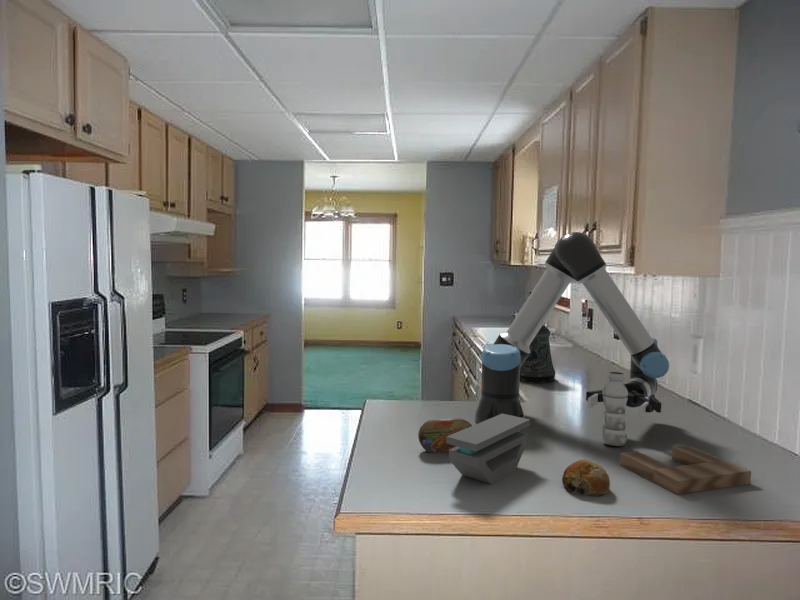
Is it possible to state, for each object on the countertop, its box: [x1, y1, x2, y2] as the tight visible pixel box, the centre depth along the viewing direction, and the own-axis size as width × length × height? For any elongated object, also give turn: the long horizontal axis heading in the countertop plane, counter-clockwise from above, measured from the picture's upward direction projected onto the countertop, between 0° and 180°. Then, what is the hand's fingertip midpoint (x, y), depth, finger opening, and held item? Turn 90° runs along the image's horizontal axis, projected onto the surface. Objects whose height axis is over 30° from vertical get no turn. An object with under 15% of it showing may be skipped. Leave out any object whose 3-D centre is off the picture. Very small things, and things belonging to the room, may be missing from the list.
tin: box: [417, 418, 473, 454], centre depth 146 cm, size 15×3×8 cm, turn 101°
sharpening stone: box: [446, 414, 531, 485], centre depth 131 cm, size 25×8×11 cm, turn 140°
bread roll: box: [561, 458, 611, 497], centre depth 123 cm, size 10×10×8 cm
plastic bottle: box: [600, 371, 628, 447], centre depth 151 cm, size 6×7×20 cm
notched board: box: [619, 444, 752, 495], centre depth 132 cm, size 21×18×3 cm
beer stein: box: [520, 324, 556, 384], centre depth 234 cm, size 16×19×25 cm
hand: (614, 407), depth 150 cm, fingers open, 13 cm apart
